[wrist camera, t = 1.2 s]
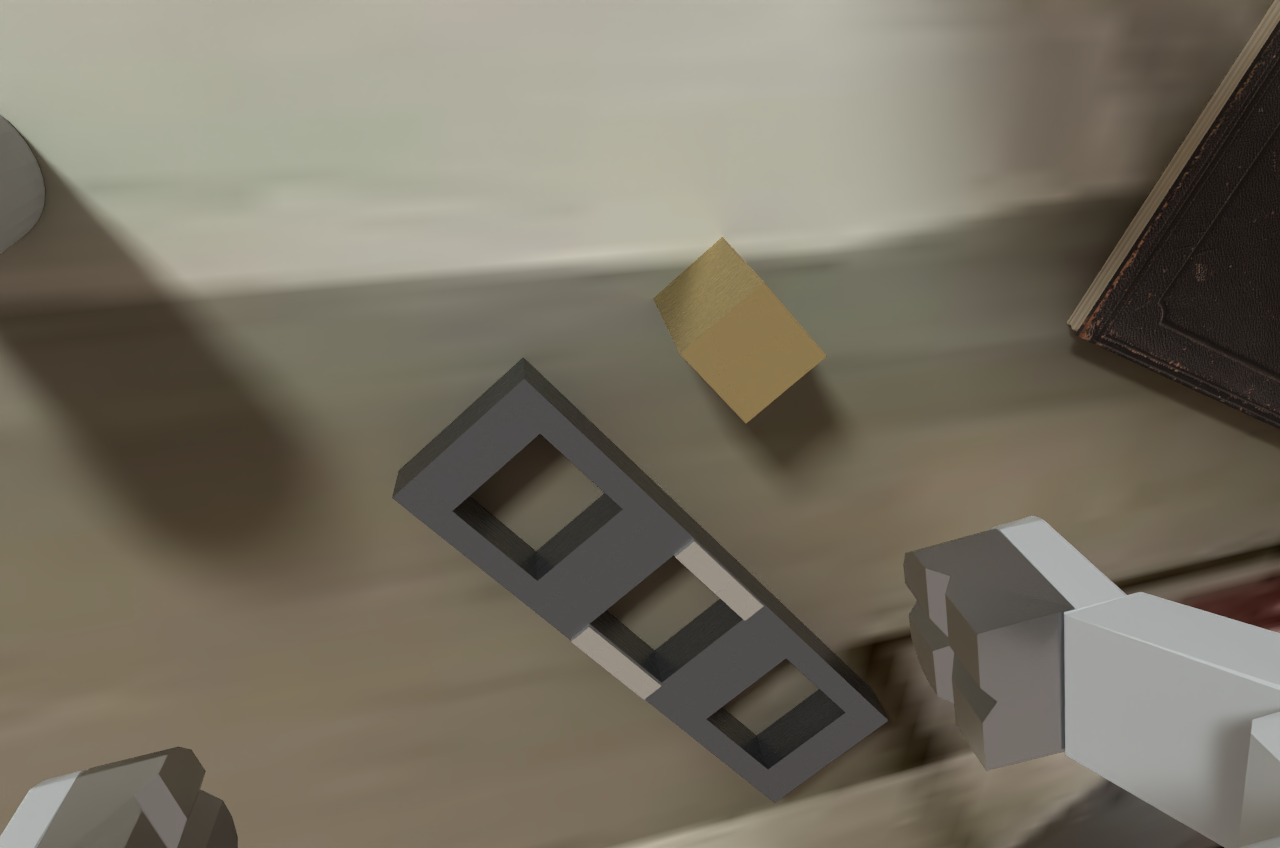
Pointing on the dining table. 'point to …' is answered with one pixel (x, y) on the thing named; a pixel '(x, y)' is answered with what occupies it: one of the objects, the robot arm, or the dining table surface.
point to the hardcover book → (1207, 250)
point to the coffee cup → (18, 187)
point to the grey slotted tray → (617, 562)
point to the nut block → (736, 331)
